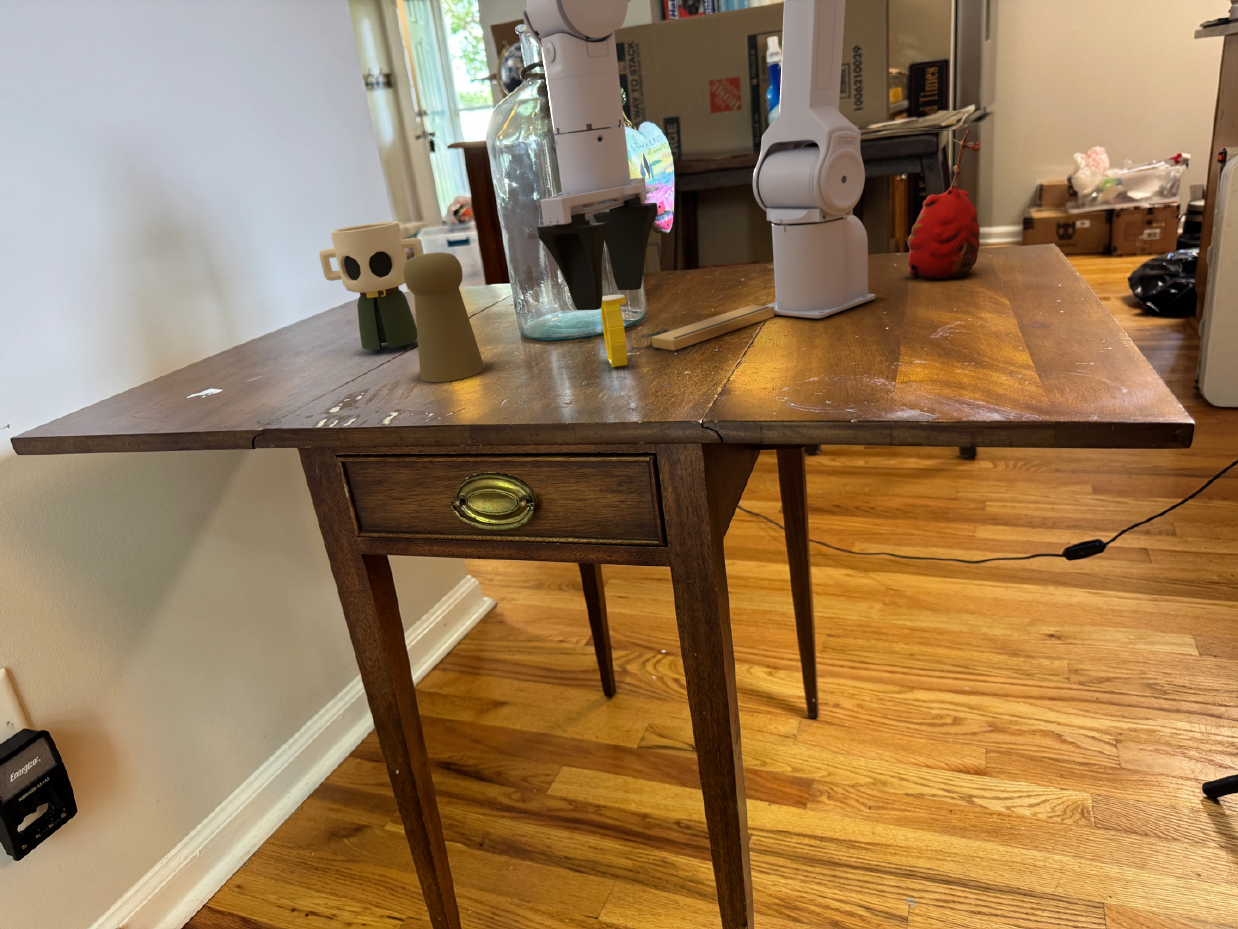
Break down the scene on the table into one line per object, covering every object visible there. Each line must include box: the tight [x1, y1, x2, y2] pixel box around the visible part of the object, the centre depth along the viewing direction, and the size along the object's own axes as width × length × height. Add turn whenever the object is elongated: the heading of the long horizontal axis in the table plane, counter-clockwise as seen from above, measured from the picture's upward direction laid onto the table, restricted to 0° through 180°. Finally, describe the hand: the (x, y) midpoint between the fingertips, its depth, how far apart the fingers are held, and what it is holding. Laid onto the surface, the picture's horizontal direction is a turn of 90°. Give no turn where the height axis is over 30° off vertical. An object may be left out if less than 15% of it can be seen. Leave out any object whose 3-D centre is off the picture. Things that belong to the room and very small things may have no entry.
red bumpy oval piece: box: [907, 128, 981, 281], centre depth 91 cm, size 8×7×15 cm
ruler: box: [651, 304, 775, 352], centre depth 82 cm, size 14×3×1 cm, turn 130°
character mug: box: [318, 221, 424, 351], centre depth 91 cm, size 11×7×13 cm, turn 91°
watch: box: [600, 294, 628, 368], centre depth 74 cm, size 6×3×6 cm, turn 7°
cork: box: [404, 251, 486, 383], centre depth 77 cm, size 6×6×11 cm
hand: (610, 298), depth 73 cm, fingers open, 7 cm apart
